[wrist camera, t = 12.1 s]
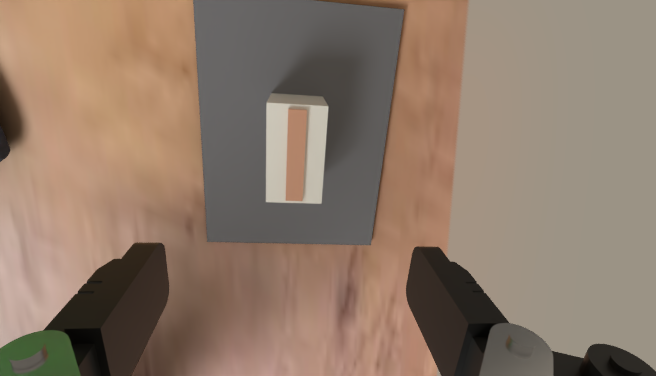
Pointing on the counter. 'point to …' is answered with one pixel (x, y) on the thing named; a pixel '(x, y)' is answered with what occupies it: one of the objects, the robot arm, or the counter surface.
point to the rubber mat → (297, 79)
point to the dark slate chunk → (3, 145)
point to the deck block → (295, 148)
